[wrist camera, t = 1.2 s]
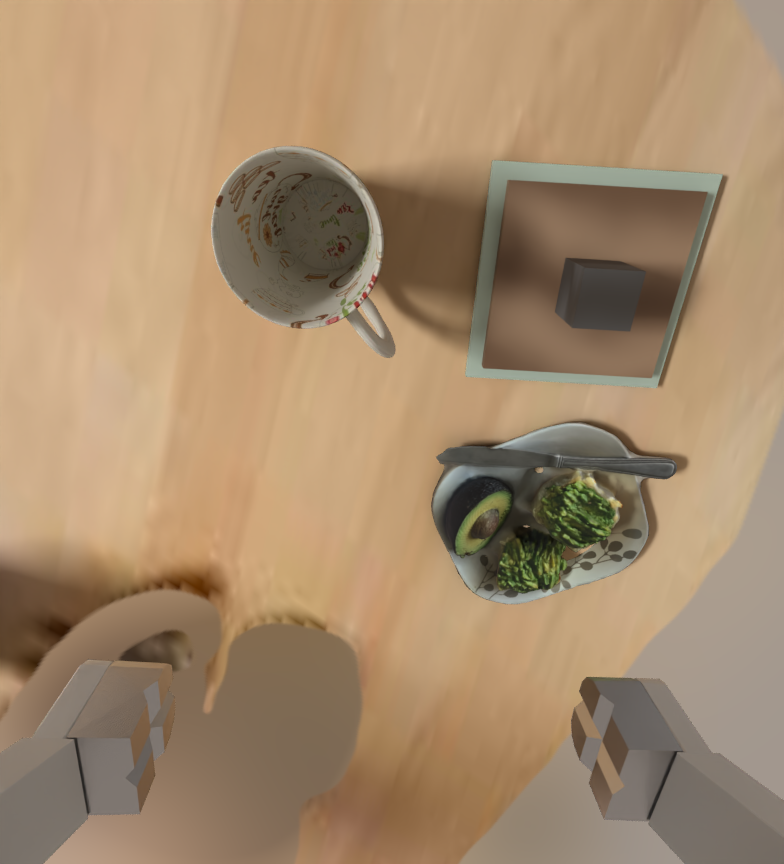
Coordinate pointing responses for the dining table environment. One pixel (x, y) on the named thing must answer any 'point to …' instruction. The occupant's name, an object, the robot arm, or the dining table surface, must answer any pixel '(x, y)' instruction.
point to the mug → (301, 242)
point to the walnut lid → (587, 277)
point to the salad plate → (543, 510)
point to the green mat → (588, 176)
